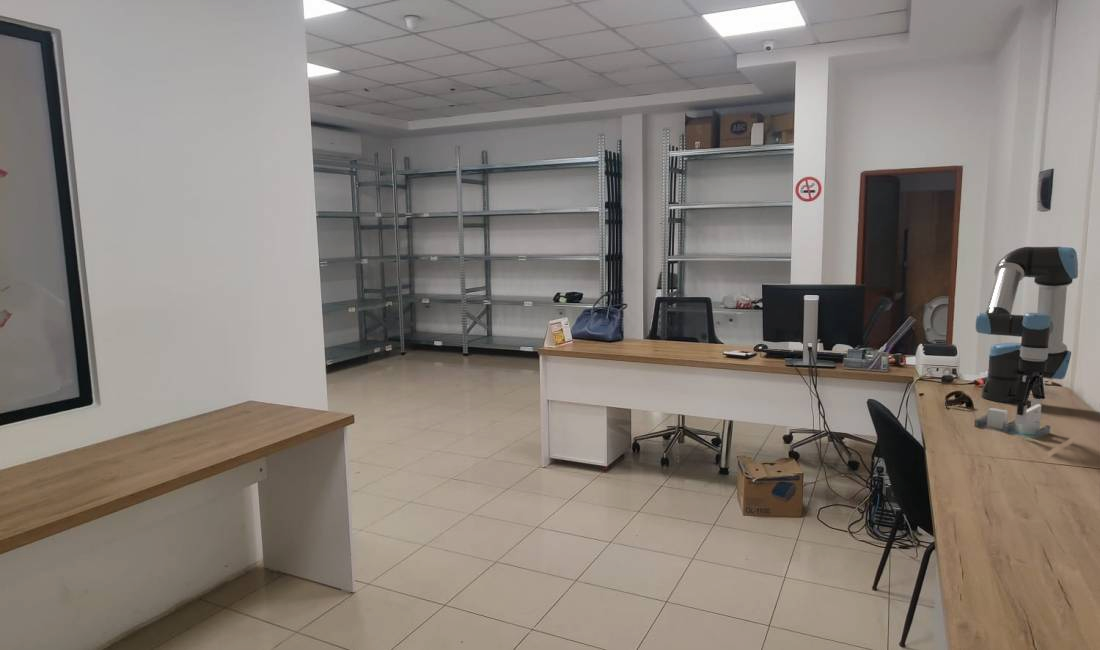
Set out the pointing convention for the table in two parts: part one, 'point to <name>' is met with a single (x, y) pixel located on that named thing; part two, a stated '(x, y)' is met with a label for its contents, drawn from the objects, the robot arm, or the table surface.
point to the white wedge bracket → (1030, 421)
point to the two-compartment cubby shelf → (1011, 428)
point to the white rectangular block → (997, 418)
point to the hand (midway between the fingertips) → (1027, 420)
